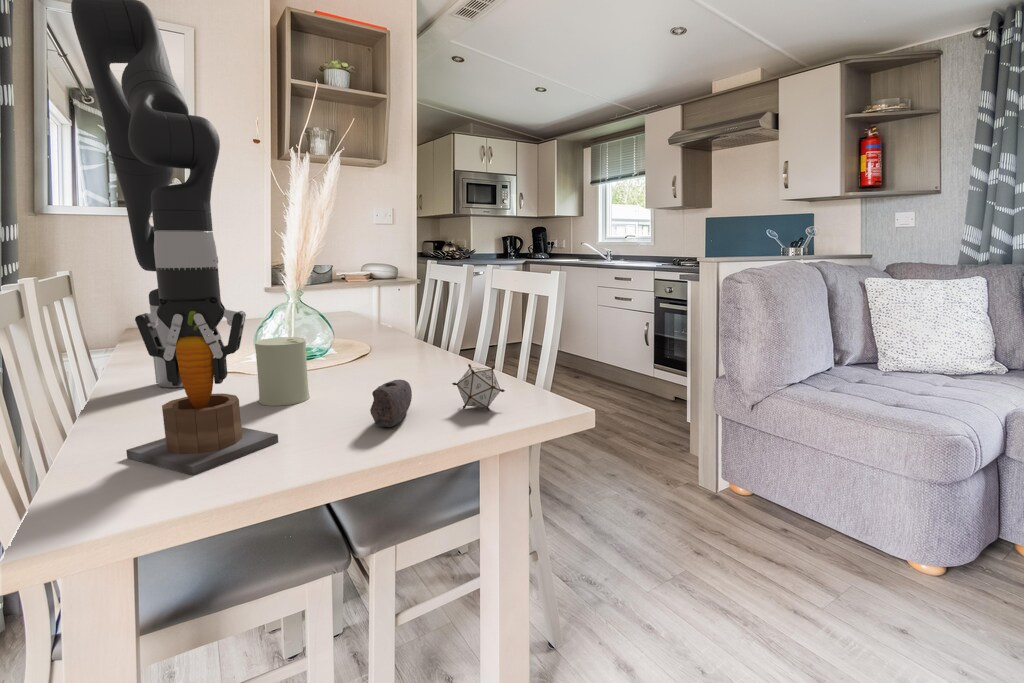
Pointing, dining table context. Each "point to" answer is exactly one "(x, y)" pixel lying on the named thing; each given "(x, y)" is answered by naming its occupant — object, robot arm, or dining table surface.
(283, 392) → the can
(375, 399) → the perforated stone tool
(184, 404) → the holder
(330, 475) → the dining table surface
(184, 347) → the carrot
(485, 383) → the game die
